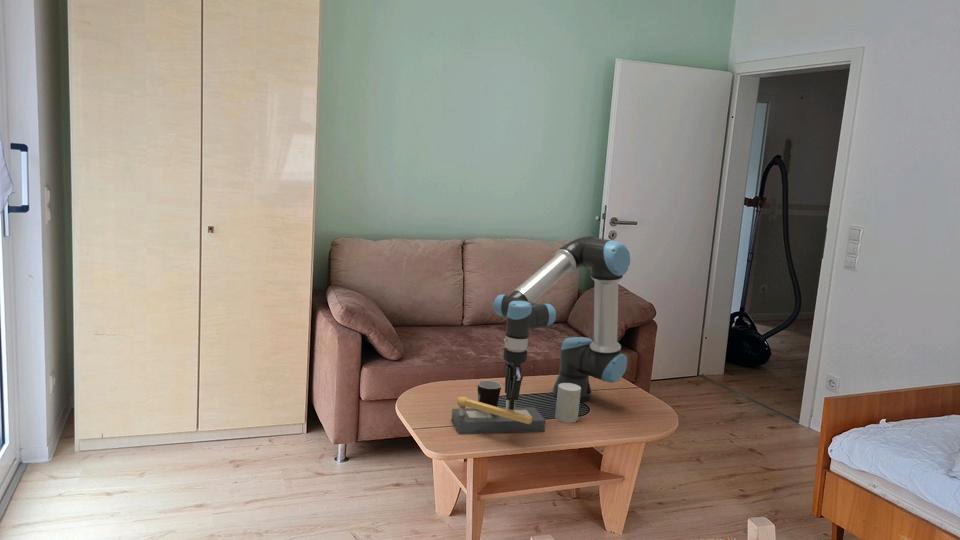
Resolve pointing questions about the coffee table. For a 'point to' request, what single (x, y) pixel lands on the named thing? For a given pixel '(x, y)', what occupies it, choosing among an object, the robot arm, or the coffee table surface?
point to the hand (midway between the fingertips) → (509, 417)
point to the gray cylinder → (567, 402)
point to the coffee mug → (489, 392)
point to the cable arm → (493, 410)
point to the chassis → (495, 421)
